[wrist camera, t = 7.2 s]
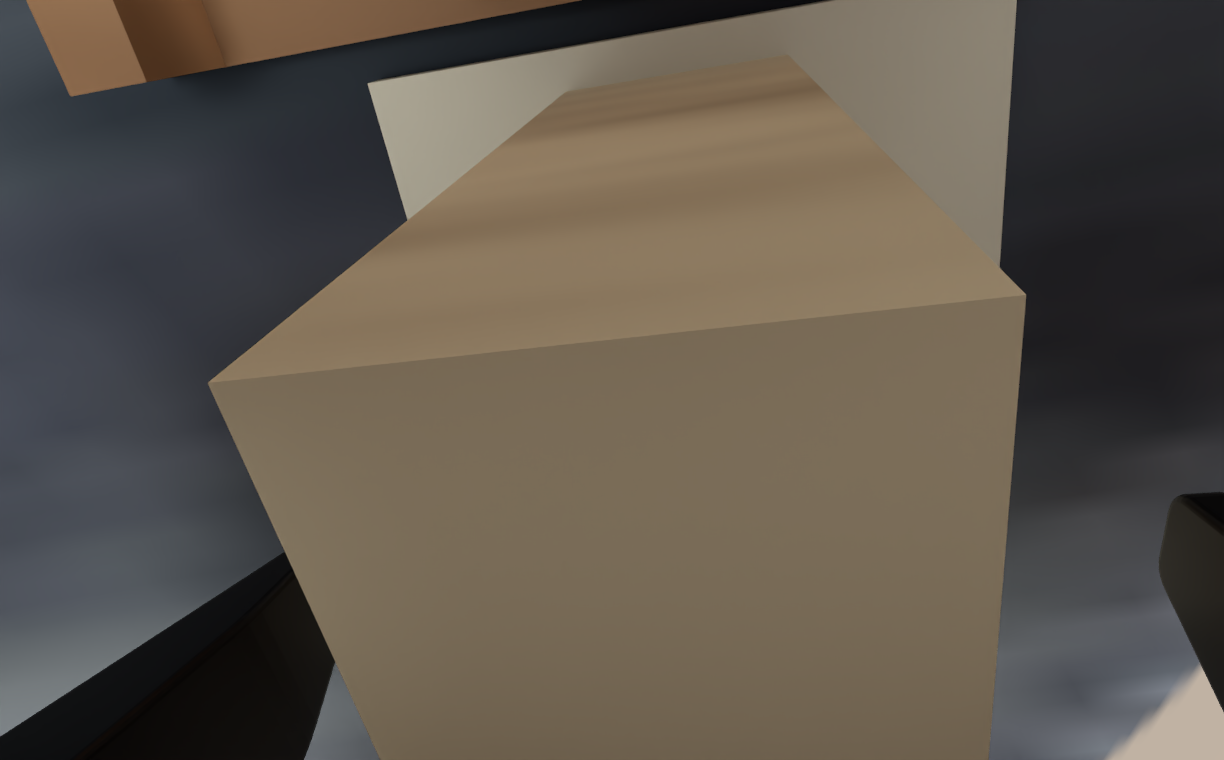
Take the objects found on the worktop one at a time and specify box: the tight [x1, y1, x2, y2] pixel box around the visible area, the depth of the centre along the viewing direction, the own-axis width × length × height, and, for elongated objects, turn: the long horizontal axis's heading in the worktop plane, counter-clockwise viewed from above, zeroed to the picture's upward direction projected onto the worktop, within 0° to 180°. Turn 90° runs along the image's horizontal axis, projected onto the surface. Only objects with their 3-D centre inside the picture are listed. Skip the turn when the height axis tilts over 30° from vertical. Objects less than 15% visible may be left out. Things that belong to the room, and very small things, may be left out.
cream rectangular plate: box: [368, 0, 1017, 268], centre depth 12 cm, size 10×8×1 cm
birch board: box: [208, 54, 1026, 760], centre depth 8 cm, size 9×3×8 cm, turn 10°
